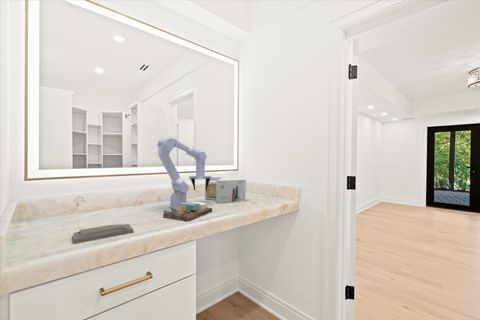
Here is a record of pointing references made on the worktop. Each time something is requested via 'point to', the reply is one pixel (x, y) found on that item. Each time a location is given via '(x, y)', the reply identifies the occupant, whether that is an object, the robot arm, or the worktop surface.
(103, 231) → the soap mold
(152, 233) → the worktop surface
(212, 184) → the supplement tub
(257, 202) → the worktop surface
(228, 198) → the skincare box
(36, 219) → the worktop surface
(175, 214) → the panel
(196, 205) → the teal button
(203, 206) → the white rectangular block
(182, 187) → the robot arm
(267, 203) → the worktop surface
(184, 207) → the brass slider
